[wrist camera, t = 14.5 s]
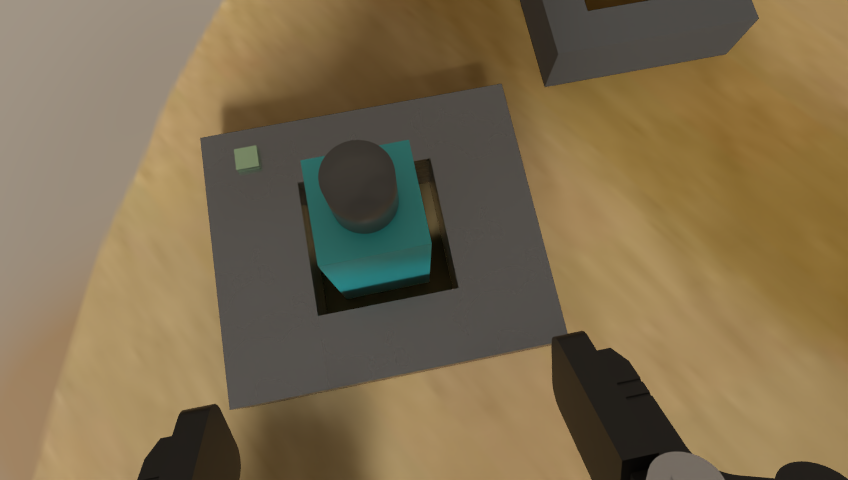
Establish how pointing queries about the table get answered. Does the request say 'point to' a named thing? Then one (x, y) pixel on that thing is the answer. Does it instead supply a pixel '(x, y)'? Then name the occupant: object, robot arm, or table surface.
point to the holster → (630, 35)
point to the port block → (392, 321)
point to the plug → (368, 217)
